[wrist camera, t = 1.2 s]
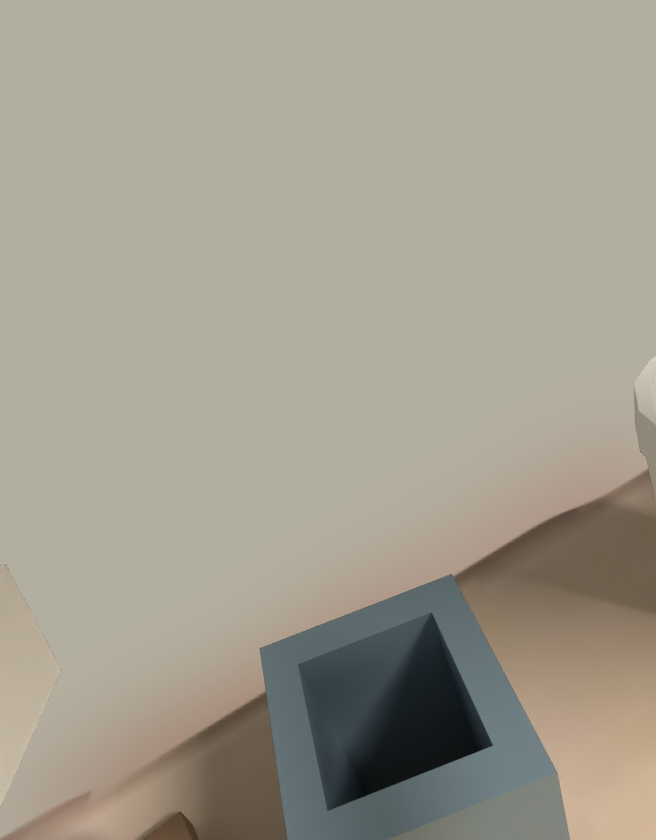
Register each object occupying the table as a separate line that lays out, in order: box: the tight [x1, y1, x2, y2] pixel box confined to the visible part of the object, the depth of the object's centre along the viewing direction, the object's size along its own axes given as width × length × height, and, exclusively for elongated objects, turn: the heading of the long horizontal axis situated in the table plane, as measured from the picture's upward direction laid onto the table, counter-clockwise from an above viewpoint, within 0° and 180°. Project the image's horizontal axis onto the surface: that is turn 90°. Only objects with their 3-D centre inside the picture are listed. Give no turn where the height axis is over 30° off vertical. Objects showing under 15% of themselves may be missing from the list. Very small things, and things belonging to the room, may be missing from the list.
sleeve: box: [260, 574, 570, 840], centre depth 25 cm, size 8×8×11 cm
